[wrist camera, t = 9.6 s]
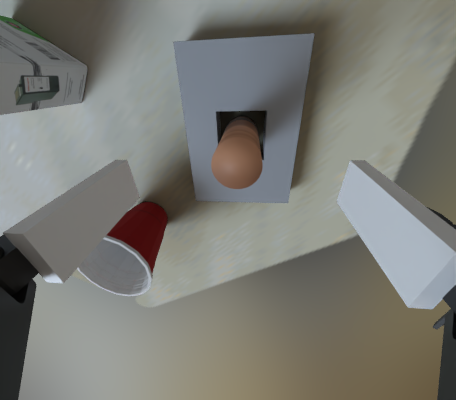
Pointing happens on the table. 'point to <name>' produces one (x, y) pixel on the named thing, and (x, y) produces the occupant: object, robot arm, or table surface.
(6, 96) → the ink box
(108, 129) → the table surface
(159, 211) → the plastic cup
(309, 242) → the table surface
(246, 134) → the peg
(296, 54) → the board
